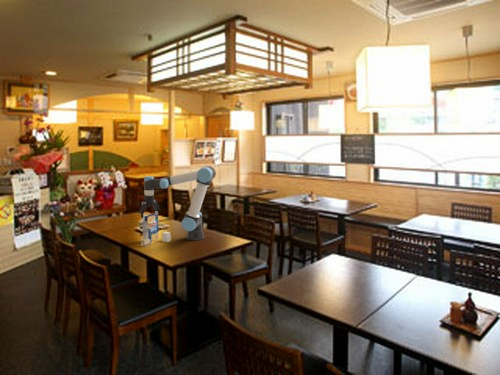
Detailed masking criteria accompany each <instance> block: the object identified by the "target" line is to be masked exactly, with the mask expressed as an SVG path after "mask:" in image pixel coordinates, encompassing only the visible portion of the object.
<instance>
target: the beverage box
mask: <svg viewBox="0 0 500 375" xmlns="http://www.w3.org/2000/svg"><path fill="white" fill-rule="evenodd" d="M144 217H145V222H142V221H141V222H142V239H150V244H152V243H154V242H157V241H159V240H160V236H159V235H160V234H159V232H160V231H159V230H160V229H159V214H158V215H157V214H155V213H151V214H146V215H145V214H144Z"/></svg>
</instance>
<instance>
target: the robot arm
mask: <svg viewBox="0 0 500 375" xmlns="http://www.w3.org/2000/svg"><path fill="white" fill-rule="evenodd" d="M216 173H217V172H216V169H215V168H214V167H212V166H211V165H208V166H203V167H201V168H199V169H198V170H195V171H190V172H186V173H180V174H175V175H172V176H165V177H162V178H154V176H151V175H147V176H144V178H143V179H144V180H143V185H144V186H143V188H144V189H143V191H144V193H143V194H144V201H141V205H140V208H139V210H138V214H140V219H141V222H145V217H144V216H145V212H146V210H147V208H148V207H152V208H153V209H154V210H155V211H154V214H157V215H158V216H159V212H160V211H161V208H160V205H159V203H158V200H157V199H155V195H154V194H155V193H154V192H155V189H168V187H170V186H175V185H181V184H185V183H190V182H196V185H195V186H196V187H195V190H194V192H193V196H192V199H191V203H190V205H189V208H188V211H186V212H185V215H184V218H183V219H181V220H182V221H181V227H182V229H183V230H185V231H186V232H187V233H186V240H187V241H188V240H189V241H200V240H204V239H205V234H204V230H203V214H202V212H200V211H201V208H202V204H203V202H204V199H205V196H206V193H207V189H208V188H209V187H210V186H211V184H212V180H214V178H216V175H217V174H216Z"/></svg>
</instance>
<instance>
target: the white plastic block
mask: <svg viewBox="0 0 500 375" xmlns="http://www.w3.org/2000/svg"><path fill="white" fill-rule="evenodd" d="M161 238H162V239H161V240H162V241H161V242H165V243H168V242H171V240H172V237H171V232H169V231H164V232H162V233H161Z"/></svg>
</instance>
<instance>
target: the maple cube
mask: <svg viewBox="0 0 500 375" xmlns="http://www.w3.org/2000/svg"><path fill="white" fill-rule="evenodd" d="M140 246H141V247H144V248H145V247H146V248H147V247H149V246H151V243H150V239H143V238H142V239H140Z"/></svg>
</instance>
